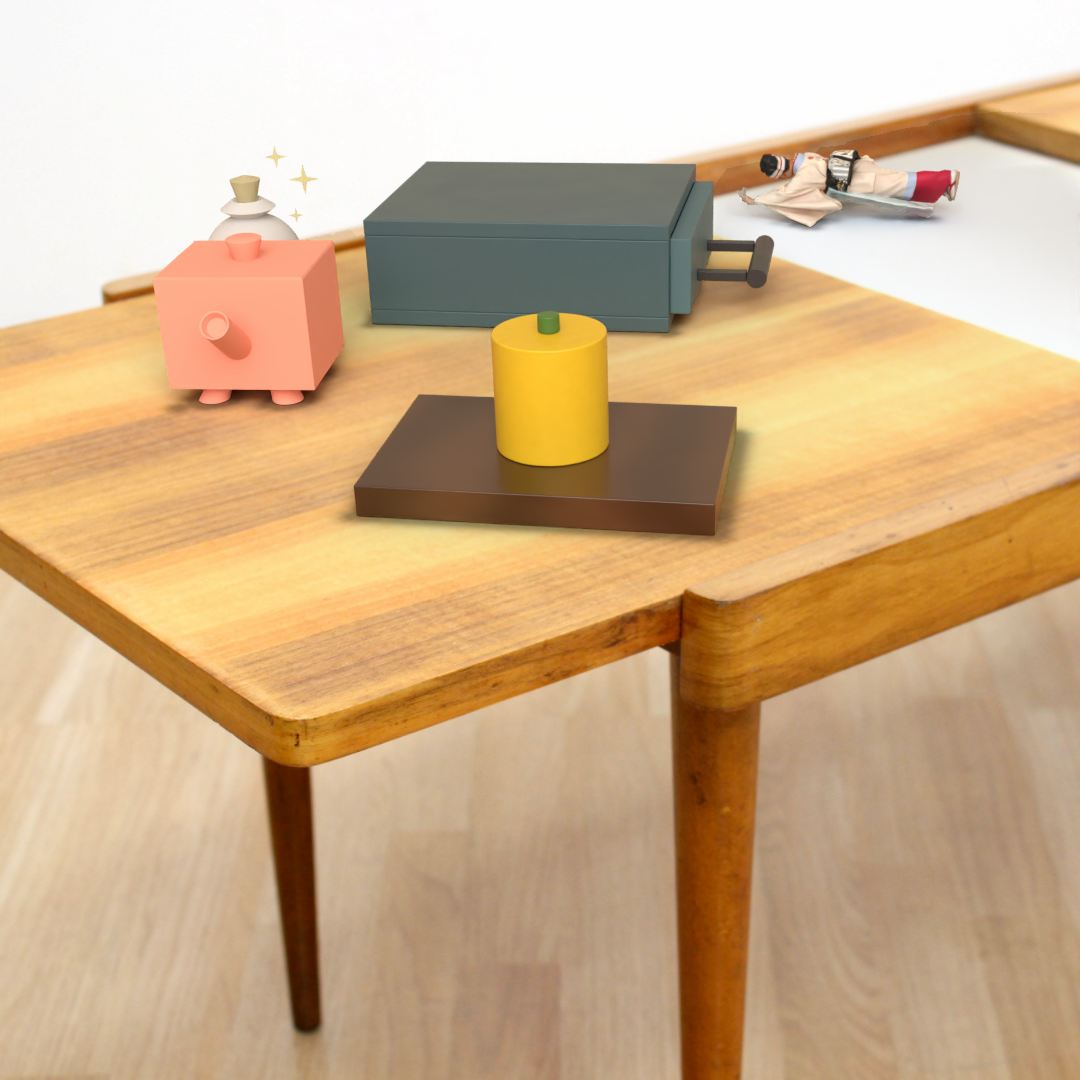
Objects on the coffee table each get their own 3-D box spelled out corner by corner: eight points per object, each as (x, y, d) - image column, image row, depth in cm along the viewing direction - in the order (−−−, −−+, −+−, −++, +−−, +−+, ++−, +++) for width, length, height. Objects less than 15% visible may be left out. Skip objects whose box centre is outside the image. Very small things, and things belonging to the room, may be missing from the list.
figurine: (942, 204, 114) (738, 180, 115) (964, 149, 106) (745, 124, 107) (933, 280, 112) (727, 255, 114) (955, 231, 104) (733, 204, 106)
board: (736, 434, 76) (737, 406, 75) (714, 536, 66) (715, 504, 66) (420, 421, 79) (418, 393, 78) (356, 516, 69) (353, 485, 69)
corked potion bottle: (222, 295, 99) (201, 137, 94) (338, 292, 98) (322, 133, 94) (201, 326, 93) (177, 160, 89) (324, 323, 93) (306, 156, 88)
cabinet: (695, 259, 102) (696, 163, 99) (668, 332, 89) (668, 225, 86) (433, 254, 105) (426, 161, 102) (372, 324, 93) (362, 220, 90)
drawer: (776, 249, 100) (778, 181, 98) (762, 316, 88) (764, 240, 86) (464, 243, 104) (460, 178, 102) (412, 306, 92) (406, 234, 90)
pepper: (617, 424, 74) (614, 297, 71) (599, 469, 69) (596, 335, 66) (510, 420, 75) (503, 294, 72) (485, 464, 70) (477, 331, 67)
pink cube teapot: (151, 431, 79) (125, 274, 75) (222, 349, 90) (203, 208, 86) (300, 433, 78) (282, 274, 74) (354, 350, 89) (340, 207, 85)
